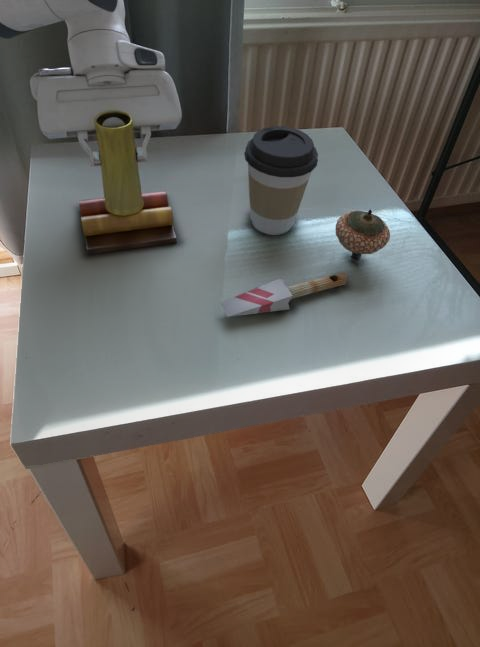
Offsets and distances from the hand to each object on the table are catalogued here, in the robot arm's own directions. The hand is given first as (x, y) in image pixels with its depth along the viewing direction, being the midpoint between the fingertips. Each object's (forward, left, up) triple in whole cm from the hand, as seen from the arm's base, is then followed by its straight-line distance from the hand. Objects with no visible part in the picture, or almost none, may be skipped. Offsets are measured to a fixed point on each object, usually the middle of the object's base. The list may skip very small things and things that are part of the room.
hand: (119, 163), depth 74 cm
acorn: (+34, -15, -12) cm, 39 cm away
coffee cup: (+24, -3, -12) cm, 27 cm away
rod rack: (0, +1, -12) cm, 12 cm away
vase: (0, +1, -8) cm, 8 cm away
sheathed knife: (+20, -21, -12) cm, 32 cm away
